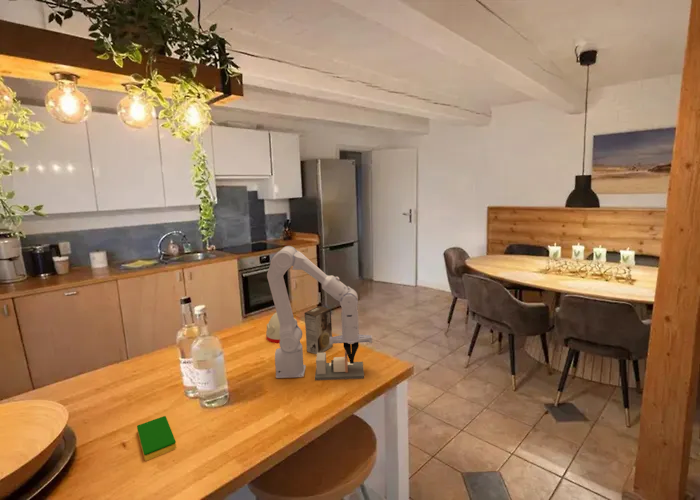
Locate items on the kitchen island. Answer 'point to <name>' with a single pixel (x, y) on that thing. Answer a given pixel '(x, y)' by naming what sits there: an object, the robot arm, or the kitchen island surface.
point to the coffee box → (318, 329)
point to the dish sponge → (156, 438)
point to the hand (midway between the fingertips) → (351, 362)
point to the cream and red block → (340, 364)
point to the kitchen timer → (273, 329)
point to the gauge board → (327, 374)
